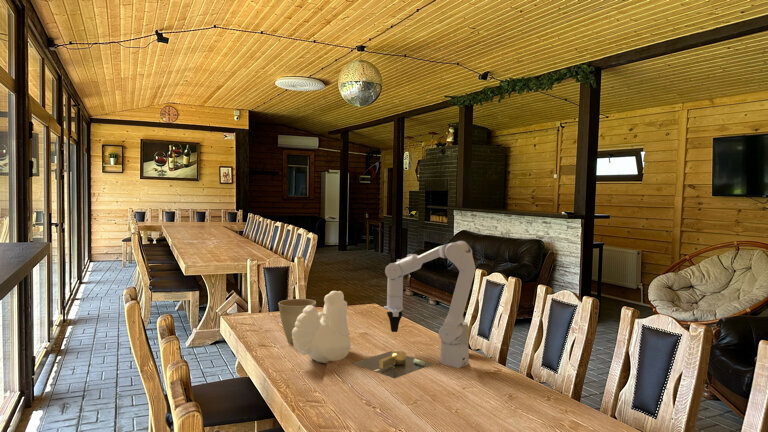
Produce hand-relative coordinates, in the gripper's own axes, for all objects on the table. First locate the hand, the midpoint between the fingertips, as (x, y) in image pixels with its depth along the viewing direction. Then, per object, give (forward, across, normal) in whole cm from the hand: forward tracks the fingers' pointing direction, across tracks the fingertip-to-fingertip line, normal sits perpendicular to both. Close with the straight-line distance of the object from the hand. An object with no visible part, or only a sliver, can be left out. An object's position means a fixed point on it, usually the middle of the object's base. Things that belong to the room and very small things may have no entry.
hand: (394, 331), depth 190 cm
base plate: (+9, +12, -1) cm, 16 cm away
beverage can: (+10, -4, +25) cm, 27 cm away
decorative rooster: (+10, +6, -27) cm, 29 cm away
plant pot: (+10, -19, -38) cm, 44 cm away
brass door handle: (+8, +14, -1) cm, 16 cm away
